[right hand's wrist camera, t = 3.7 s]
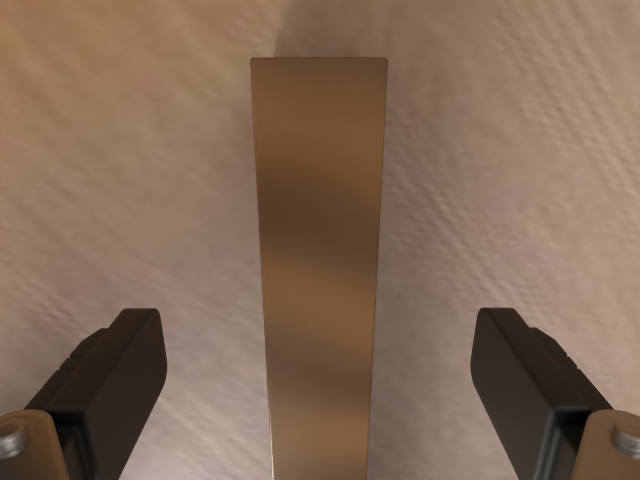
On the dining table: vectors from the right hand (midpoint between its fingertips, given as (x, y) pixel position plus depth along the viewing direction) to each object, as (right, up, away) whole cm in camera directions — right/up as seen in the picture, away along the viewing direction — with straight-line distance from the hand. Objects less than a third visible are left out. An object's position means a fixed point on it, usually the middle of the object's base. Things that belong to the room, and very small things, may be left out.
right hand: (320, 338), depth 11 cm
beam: (0, -22, +25) cm, 33 cm away
